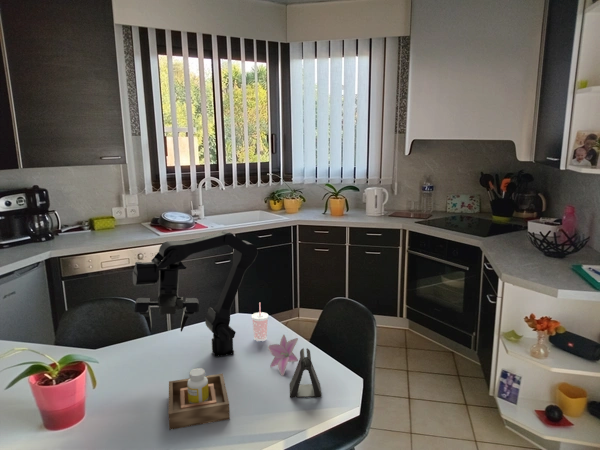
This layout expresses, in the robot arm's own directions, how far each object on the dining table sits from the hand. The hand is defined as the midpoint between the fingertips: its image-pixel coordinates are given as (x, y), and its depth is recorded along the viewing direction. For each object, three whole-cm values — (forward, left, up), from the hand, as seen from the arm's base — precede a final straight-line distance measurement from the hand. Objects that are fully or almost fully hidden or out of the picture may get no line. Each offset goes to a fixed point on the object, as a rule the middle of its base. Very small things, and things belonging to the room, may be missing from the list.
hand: (166, 331), depth 134 cm
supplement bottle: (-8, +24, -12) cm, 28 cm away
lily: (-35, +10, -13) cm, 39 cm away
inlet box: (-8, +24, -12) cm, 28 cm away
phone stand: (-38, +25, -12) cm, 47 cm away
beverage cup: (-32, -11, -12) cm, 36 cm away
